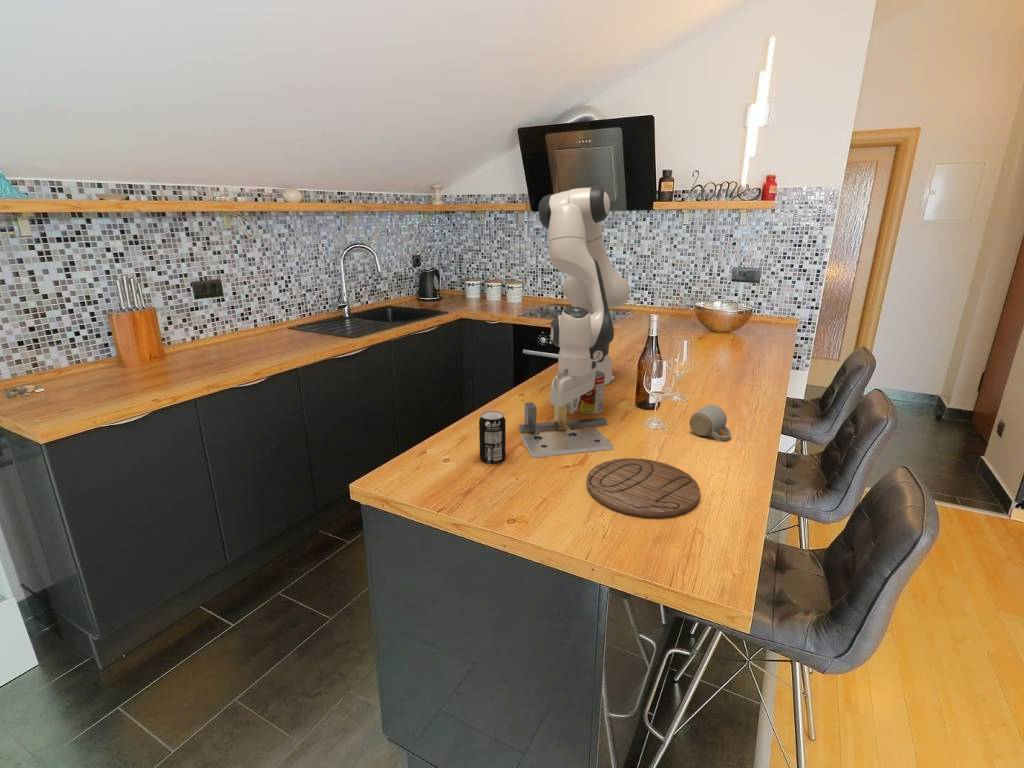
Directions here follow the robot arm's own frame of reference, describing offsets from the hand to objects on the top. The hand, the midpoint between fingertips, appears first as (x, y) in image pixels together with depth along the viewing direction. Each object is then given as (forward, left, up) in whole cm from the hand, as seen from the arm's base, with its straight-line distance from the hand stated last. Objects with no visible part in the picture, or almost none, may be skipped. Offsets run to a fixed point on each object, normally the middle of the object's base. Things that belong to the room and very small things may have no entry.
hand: (572, 412), depth 155 cm
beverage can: (+15, -26, -5) cm, 31 cm away
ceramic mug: (+14, +37, -5) cm, 39 cm away
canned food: (-12, +11, -5) cm, 17 cm away
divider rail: (+3, -2, -5) cm, 6 cm away
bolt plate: (+11, -5, -5) cm, 13 cm away
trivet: (+38, +4, -5) cm, 38 cm away
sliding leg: (+3, -3, -4) cm, 6 cm away
